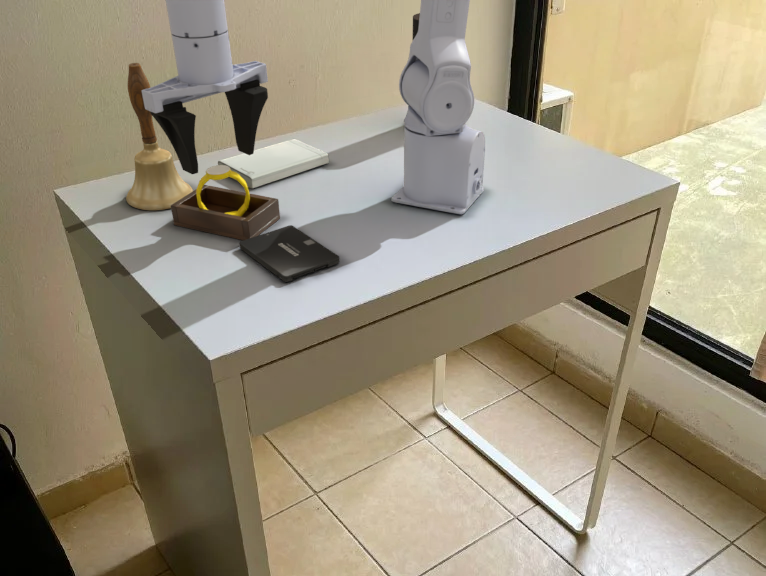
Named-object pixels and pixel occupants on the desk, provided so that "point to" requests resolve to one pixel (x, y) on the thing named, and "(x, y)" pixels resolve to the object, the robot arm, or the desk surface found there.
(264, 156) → the hard drive
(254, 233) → the wooden tray
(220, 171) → the watch
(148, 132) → the hand bell
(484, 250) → the desk surface
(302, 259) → the solid state drive
